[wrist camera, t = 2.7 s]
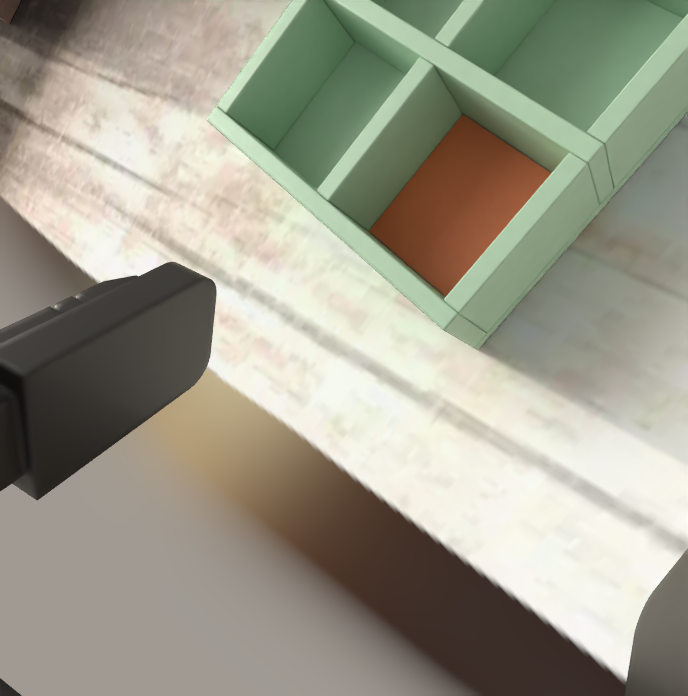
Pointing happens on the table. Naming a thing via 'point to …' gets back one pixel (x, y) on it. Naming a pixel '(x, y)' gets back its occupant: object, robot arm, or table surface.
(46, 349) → the robot arm
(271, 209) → the table surface
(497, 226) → the box
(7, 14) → the tissue box cover
